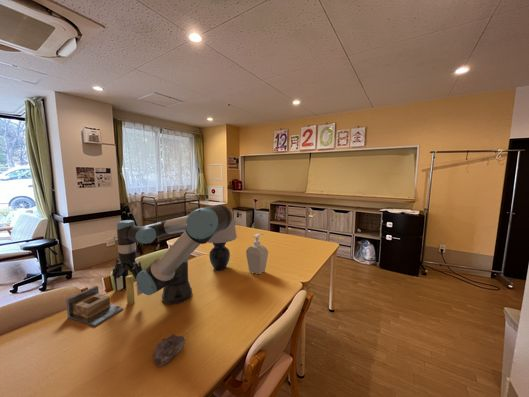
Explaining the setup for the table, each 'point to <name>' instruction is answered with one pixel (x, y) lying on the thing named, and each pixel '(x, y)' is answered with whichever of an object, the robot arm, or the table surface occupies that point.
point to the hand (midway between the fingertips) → (129, 291)
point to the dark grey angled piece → (96, 318)
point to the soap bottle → (257, 256)
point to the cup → (123, 279)
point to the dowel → (130, 289)
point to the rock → (168, 349)
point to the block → (91, 305)
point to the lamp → (222, 246)
